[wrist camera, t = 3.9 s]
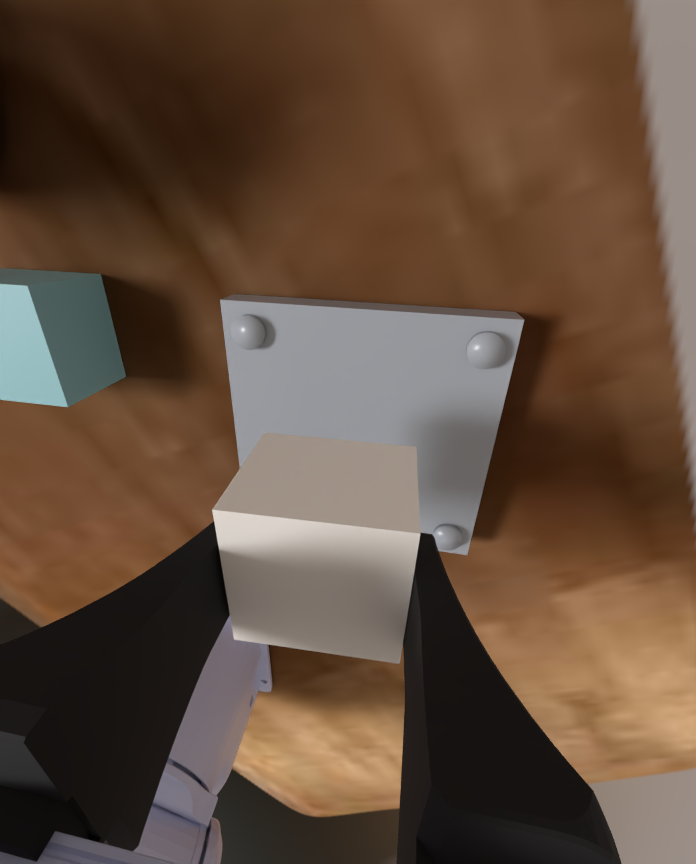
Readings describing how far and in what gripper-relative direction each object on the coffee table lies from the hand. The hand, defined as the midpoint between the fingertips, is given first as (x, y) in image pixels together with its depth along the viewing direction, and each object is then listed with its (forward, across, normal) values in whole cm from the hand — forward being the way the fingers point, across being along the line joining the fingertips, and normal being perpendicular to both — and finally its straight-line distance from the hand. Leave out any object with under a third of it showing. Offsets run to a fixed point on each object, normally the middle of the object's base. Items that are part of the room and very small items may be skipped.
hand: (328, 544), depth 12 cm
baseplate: (+8, 0, 0) cm, 8 cm away
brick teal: (+8, +15, -4) cm, 18 cm away
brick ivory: (+2, 0, 0) cm, 2 cm away
